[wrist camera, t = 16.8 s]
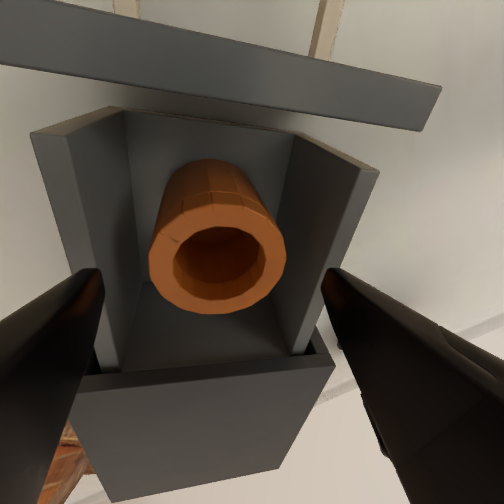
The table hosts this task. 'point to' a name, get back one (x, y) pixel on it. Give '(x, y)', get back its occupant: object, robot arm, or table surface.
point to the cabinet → (194, 419)
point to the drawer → (192, 149)
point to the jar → (214, 241)
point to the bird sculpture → (65, 469)
